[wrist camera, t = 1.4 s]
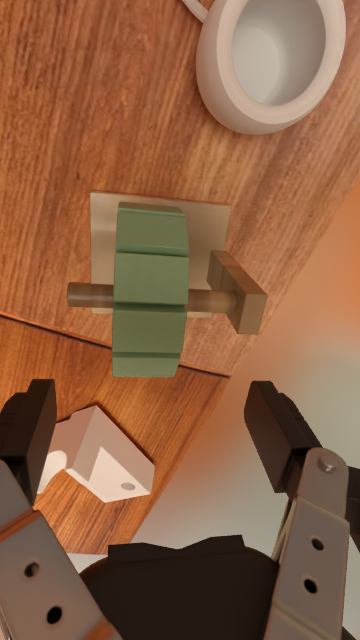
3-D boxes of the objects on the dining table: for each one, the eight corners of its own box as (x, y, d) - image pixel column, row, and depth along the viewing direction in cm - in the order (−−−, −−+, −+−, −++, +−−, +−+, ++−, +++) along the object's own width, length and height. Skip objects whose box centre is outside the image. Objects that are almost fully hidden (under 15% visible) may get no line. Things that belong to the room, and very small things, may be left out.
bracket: (50, 420, 39) (18, 481, 33) (96, 405, 37) (71, 468, 30) (111, 476, 45) (95, 537, 39) (155, 466, 43) (144, 529, 36)
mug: (315, 70, 25) (384, 40, 18) (239, 161, 28) (275, 164, 21) (206, -89, 21) (244, -208, 14) (125, 37, 23) (122, -12, 16)
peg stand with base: (87, 308, 32) (67, 380, 22) (85, 189, 27) (58, 212, 17) (212, 313, 34) (246, 381, 24) (230, 204, 29) (284, 232, 19)
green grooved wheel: (117, 324, 30) (110, 413, 20) (120, 193, 25) (114, 222, 15) (159, 326, 31) (174, 412, 21) (171, 198, 26) (199, 229, 16)
